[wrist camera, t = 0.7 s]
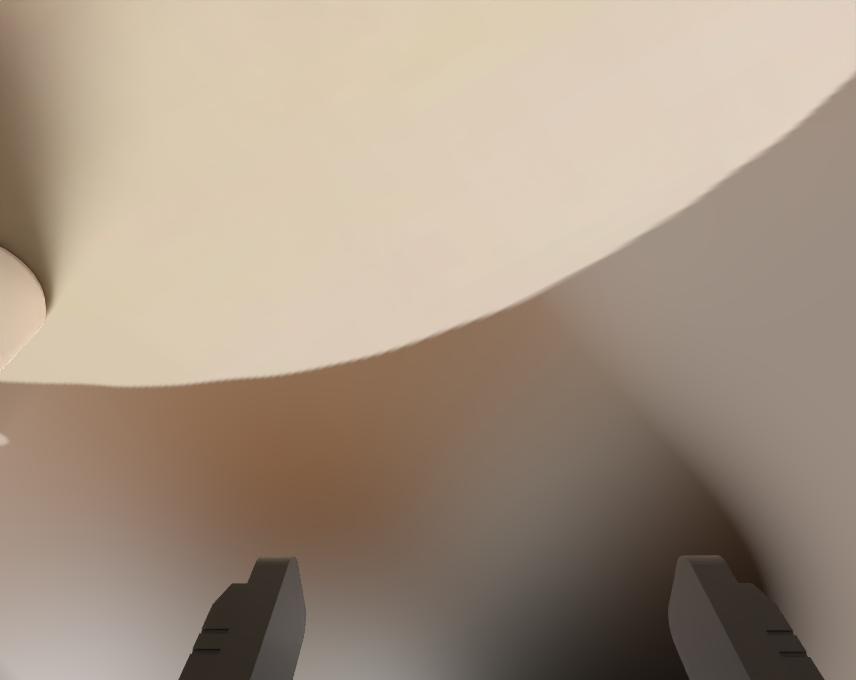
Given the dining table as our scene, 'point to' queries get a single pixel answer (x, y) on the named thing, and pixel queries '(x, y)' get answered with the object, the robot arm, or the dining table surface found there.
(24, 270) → the alcohol
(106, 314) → the dining table surface
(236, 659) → the robot arm
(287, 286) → the dining table surface
